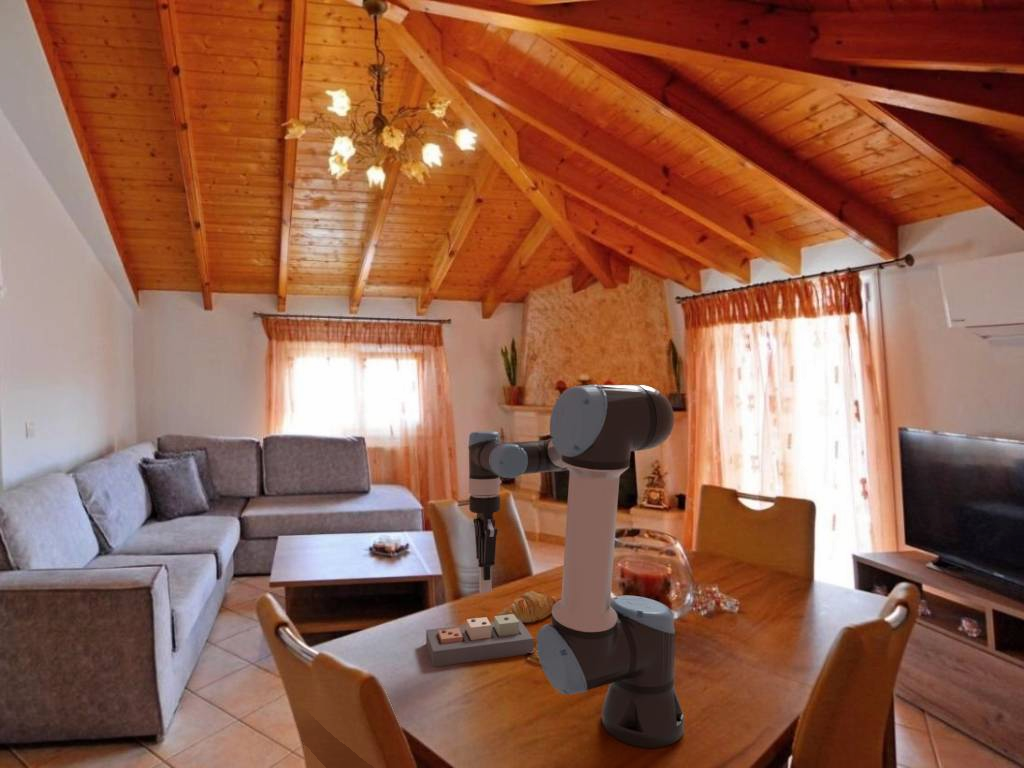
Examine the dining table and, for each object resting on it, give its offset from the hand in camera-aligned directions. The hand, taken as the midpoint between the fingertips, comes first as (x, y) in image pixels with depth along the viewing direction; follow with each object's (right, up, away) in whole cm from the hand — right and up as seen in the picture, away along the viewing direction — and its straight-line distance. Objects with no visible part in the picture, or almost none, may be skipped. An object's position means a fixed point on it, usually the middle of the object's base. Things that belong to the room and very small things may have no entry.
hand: (485, 591), depth 142 cm
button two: (-2, -10, 0) cm, 11 cm away
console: (-2, -14, 0) cm, 14 cm away
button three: (-8, -12, -2) cm, 15 cm away
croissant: (+11, -14, +20) cm, 27 cm away
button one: (+5, -10, +2) cm, 12 cm away
